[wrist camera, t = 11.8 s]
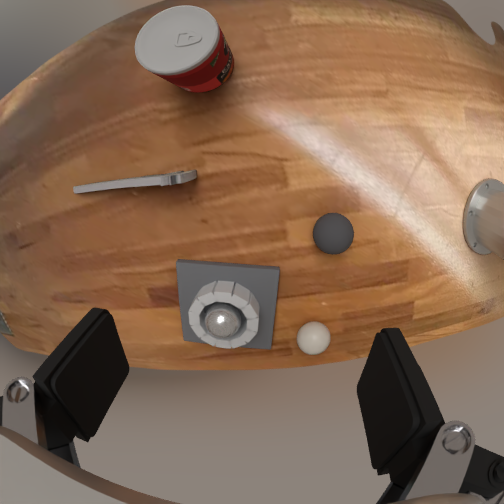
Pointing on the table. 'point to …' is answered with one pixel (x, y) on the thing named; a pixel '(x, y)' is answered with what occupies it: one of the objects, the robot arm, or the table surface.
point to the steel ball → (222, 320)
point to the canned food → (185, 49)
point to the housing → (228, 300)
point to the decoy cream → (313, 338)
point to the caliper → (139, 181)
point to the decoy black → (333, 233)
